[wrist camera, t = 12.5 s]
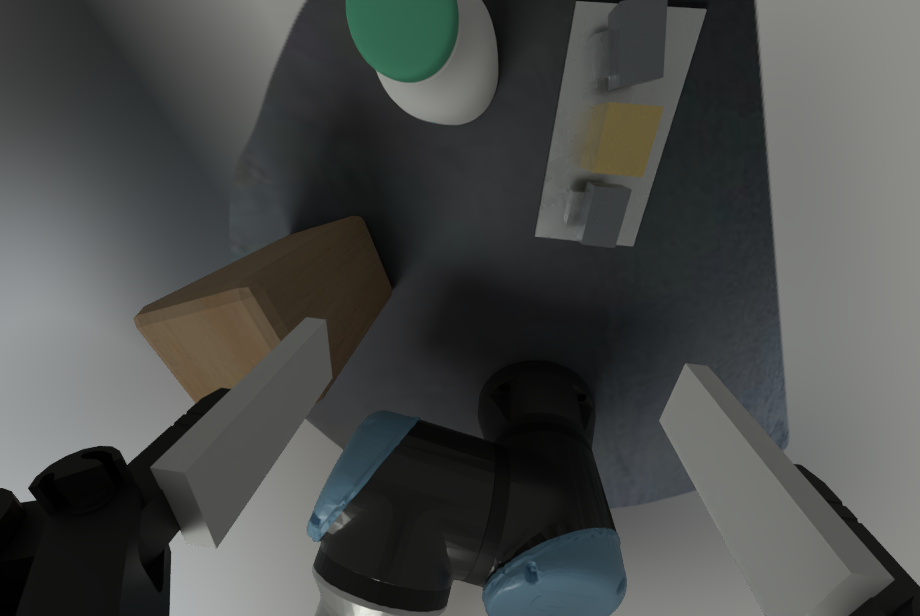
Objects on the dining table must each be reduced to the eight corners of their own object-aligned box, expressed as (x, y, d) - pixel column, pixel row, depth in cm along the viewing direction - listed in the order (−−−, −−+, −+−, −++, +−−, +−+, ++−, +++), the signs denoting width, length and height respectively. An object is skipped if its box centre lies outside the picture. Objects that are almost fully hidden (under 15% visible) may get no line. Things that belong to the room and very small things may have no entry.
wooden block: (324, 309, 44) (207, 429, 27) (286, 234, 40) (118, 317, 23) (397, 292, 42) (321, 410, 24) (364, 211, 38) (245, 282, 20)
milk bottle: (489, 10, 29) (472, -170, 12) (505, 113, 33) (510, 94, 15) (403, 38, 31) (270, -84, 13) (426, 134, 34) (345, 139, 16)
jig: (629, 243, 37) (651, 262, 31) (534, 233, 37) (539, 251, 32) (700, 12, 28) (747, -15, 23) (573, 4, 29) (590, -24, 23)
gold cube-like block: (623, 171, 33) (643, 177, 28) (580, 167, 33) (592, 172, 29) (640, 109, 31) (664, 106, 26) (593, 106, 31) (609, 102, 26)
